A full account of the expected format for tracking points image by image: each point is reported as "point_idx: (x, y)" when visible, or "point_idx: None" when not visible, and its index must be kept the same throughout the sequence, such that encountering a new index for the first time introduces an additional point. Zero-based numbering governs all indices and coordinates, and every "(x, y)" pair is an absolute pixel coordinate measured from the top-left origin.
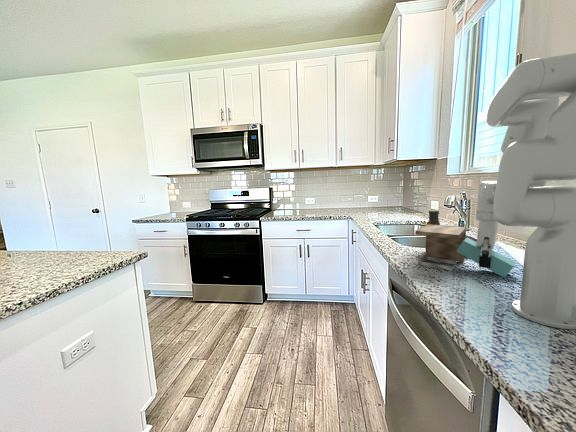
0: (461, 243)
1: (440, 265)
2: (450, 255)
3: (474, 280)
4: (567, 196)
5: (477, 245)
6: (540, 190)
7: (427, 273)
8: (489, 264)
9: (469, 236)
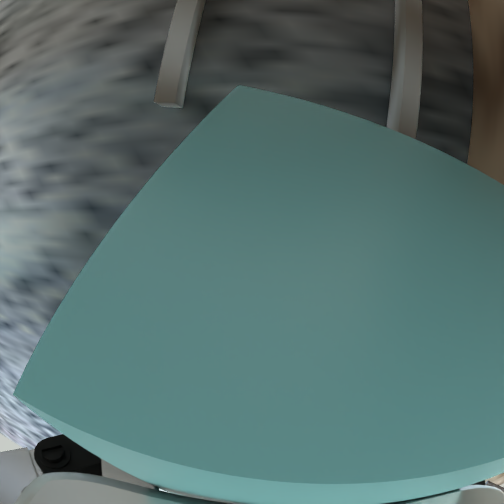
0: (140, 197)
1: (174, 12)
2: (501, 115)
3: (34, 260)
4: None
5: (22, 494)
6: None
7: (40, 5)
8: None
9: None
